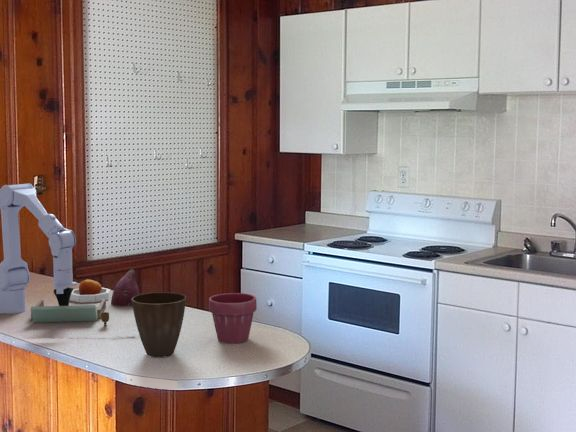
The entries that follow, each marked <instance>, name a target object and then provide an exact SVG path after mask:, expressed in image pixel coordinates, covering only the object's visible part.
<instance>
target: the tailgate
mask: <svg viewBox="0 0 576 432" xmlns="http://www.w3.org/2000/svg"><path fill="white" fill-rule="evenodd" d="M35 306H36V305H35ZM35 306H30V315H31V314H32V318H33V321H32V322H33V323H50V322H51V323H53V322H54V323H56V322H57V323H58V322H59V323H60V322H89V321H90V322H92V321H93V322H96V321H98V319H97V313H96V307H97V306H96V305H94V304H91V305H89V304H88V305H85V304H84V305H81V304H80V305H69V306H59V305H50V306H49V305H46V306H45V305H44V306H36V307H35Z"/></svg>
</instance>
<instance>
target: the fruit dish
mask: <svg viewBox="0 0 576 432" xmlns="http://www.w3.org/2000/svg"><path fill="white" fill-rule="evenodd" d="M110 298H111V288H106V287H102V288H101V291H100V293H99V294H95V295H80V293H79V288H75V289H74V288H73V291H72V293H71V296H70V300H69V302H70V301H71V302H75V303H80V304H81V303H99V302H101V301H102V299H106V301H108V300H110Z"/></svg>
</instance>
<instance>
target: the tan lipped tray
mask: <svg viewBox="0 0 576 432" xmlns="http://www.w3.org/2000/svg"><path fill="white" fill-rule="evenodd" d="M36 306H45V301H44V300H43V299H40V300H39V301H38V302H37V303H36V304H35V306H34V307H36ZM106 308H107V300H106V299H102V301H100V304H99V305H98V307H97V306H96V313H97V320H101V313H103V312H106ZM30 319H31V320H30V321H31V322H33V318H32V314H31V313H30Z"/></svg>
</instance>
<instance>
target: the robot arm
mask: <svg viewBox="0 0 576 432" xmlns="http://www.w3.org/2000/svg"><path fill="white" fill-rule="evenodd" d="M37 197H38V196H37V189H36V188H34V186H33V185H32V184H31V183H28V182H26V183H22V184H21V183H19V184H4V185H3V186H1V187H0V215H1V232H2V233H1V235H2V248H3V249H2V250H3V260H2V261H1V262H0V314H9V315H10V314H20V313H21V314H22V313H24V312H25V311H26V308H27V307H26V288H27V286H28V284H29V282H30V279H31V273H30V270H29V267H28V266H29V265H28V263H27V261H25V260H23V259H22V253H21V252H22V251H21V238H20V223H19V211H20V210H21V209H22V208H23V207H25V208H26V209H27V210H28V211H29V213H32V215H33V216H34V217H35V218H36V219H37V221H38V222H37V226H38V228H40V229H41V232H43V234H44V235H45V236H46V237H47V238H48V246H49V248H50V253H51V255H52V260H53V261H52V263H53V265H52V266H53V270H52V271H53V284H52V286H53V287H54V288H55V289H54V290H53V294H54V296H55V297H56V299H57V303H58V306H70V296H71V293H72V291H73V290H74V287H73V286H77V284H78V283H77V281H73V278H74V277H73V248H74V247H75V245H76V243H77V239H76V234H75V233H74V231H73V230H71V229H68V228H67V227H64V225H62V224H61V222H60V221H59V219H57V217H56V216H55V214H53V213H48V212H47V210H46V209H45V208H44V206H43V204H42V202H40V200H39V199H38V198H37Z"/></svg>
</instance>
